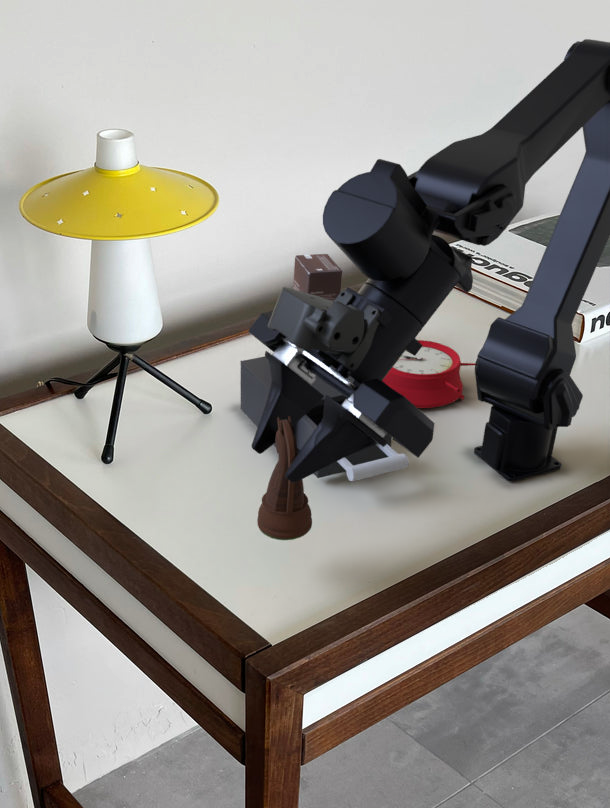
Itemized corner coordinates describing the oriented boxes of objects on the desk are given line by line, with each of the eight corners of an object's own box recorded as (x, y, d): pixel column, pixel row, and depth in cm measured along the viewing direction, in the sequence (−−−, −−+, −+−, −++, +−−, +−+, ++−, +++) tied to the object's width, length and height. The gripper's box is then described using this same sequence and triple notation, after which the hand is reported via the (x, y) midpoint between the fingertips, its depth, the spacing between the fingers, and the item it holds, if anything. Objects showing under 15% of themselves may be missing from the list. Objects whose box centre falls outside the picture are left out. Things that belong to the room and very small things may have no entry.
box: (338, 365, 122) (343, 269, 115) (301, 369, 121) (305, 273, 114) (323, 344, 127) (328, 251, 120) (288, 348, 126) (291, 254, 119)
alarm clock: (459, 391, 108) (335, 335, 112) (440, 437, 112) (321, 382, 116) (487, 353, 116) (371, 302, 120) (469, 398, 120) (356, 347, 124)
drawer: (415, 485, 99) (419, 448, 96) (341, 504, 96) (344, 466, 94) (340, 414, 110) (342, 380, 108) (272, 430, 108) (273, 395, 105)
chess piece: (305, 506, 87) (307, 404, 82) (318, 541, 83) (322, 436, 78) (253, 512, 87) (252, 410, 81) (264, 547, 83) (263, 442, 77)
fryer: (364, 438, 108) (368, 389, 104) (284, 457, 105) (286, 407, 101) (315, 392, 116) (317, 345, 113) (240, 408, 113) (240, 360, 110)
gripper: (268, 213, 80) (151, 372, 82) (417, 293, 67) (273, 480, 69) (345, 286, 88) (237, 430, 90) (492, 371, 74) (361, 538, 76)
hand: (271, 465), depth 81 cm, fingers closed on chess piece, 5 cm apart
